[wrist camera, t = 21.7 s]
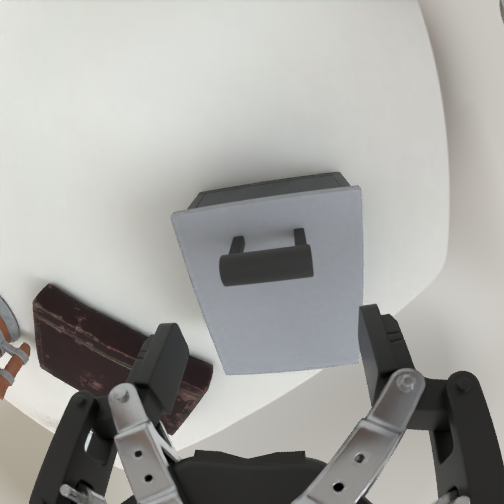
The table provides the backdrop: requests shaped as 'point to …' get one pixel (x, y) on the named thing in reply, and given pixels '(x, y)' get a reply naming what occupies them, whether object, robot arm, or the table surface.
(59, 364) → the diary
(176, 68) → the table surface
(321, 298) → the lid
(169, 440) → the robot arm
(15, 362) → the mug
